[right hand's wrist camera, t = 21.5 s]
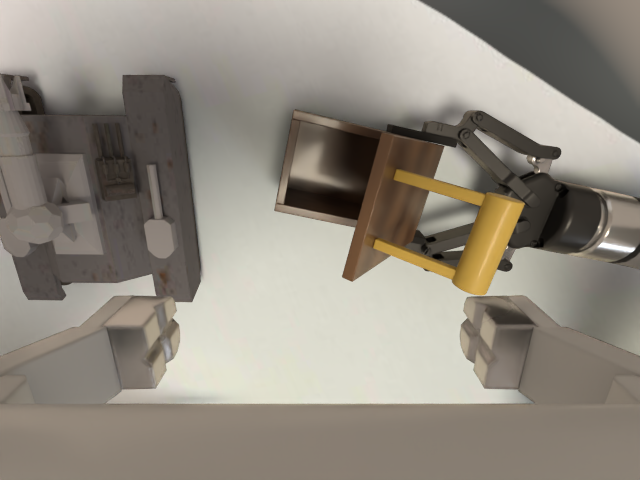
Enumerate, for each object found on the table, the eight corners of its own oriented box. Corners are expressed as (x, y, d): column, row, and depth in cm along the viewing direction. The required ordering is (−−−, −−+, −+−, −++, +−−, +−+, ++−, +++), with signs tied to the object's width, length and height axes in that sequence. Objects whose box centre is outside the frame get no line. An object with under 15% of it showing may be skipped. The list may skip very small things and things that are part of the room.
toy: (204, 283, 48) (157, 354, 34) (56, 282, 48) (-52, 353, 34) (182, 78, 40) (106, 61, 25) (1, 76, 39) (-176, 58, 25)
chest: (279, 191, 43) (274, 211, 35) (294, 109, 40) (293, 109, 32) (387, 214, 45) (407, 238, 37) (410, 137, 42) (438, 144, 34)
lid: (341, 277, 24) (469, 335, 20) (381, 132, 21) (540, 171, 17) (405, 238, 36) (491, 270, 33) (435, 143, 33) (534, 168, 30)
